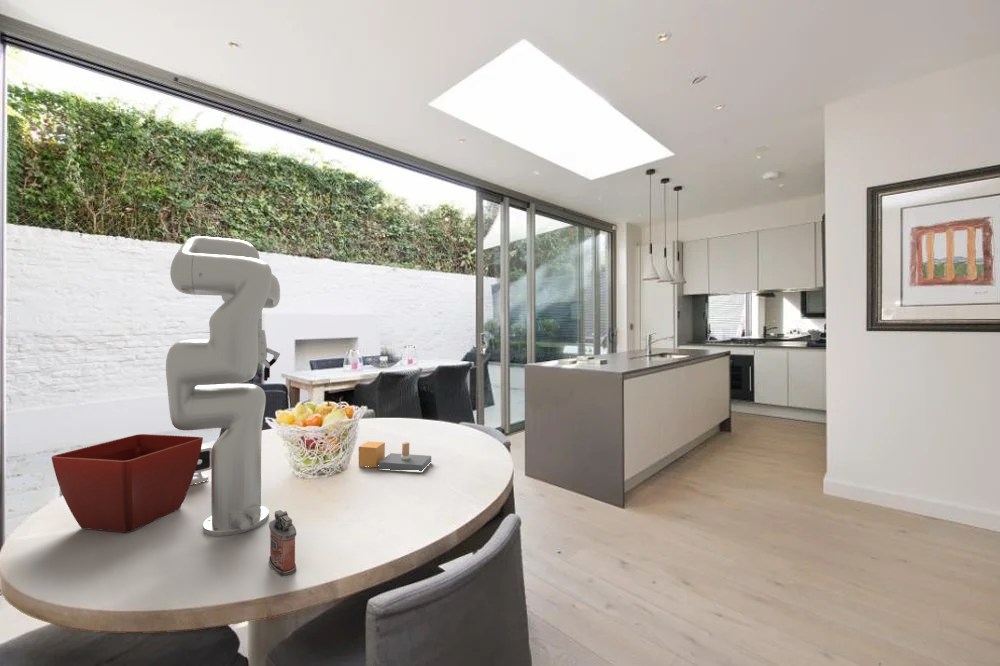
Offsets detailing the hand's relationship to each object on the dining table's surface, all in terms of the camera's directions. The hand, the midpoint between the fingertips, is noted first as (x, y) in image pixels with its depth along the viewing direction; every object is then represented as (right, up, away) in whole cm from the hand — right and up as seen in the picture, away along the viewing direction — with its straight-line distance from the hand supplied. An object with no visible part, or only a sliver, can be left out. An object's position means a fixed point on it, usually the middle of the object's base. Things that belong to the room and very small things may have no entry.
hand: (247, 381), depth 126 cm
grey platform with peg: (+47, -28, +6) cm, 55 cm away
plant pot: (-8, -28, -30) cm, 42 cm away
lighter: (+36, -29, -48) cm, 67 cm away
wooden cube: (+36, -28, +8) cm, 46 cm away
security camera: (-9, -28, -9) cm, 31 cm away
